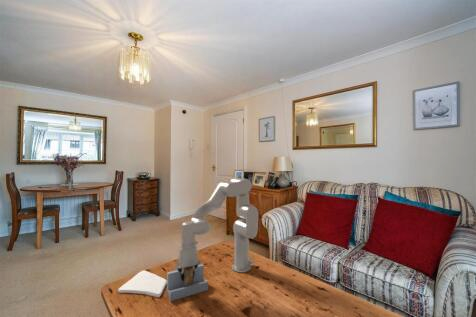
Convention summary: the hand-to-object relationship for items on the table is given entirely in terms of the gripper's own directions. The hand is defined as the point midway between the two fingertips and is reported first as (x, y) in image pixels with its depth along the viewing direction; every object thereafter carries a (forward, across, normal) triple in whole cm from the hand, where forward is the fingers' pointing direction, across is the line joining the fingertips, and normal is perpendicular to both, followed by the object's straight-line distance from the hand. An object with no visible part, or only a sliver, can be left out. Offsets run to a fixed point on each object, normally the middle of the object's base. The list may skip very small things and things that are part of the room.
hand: (187, 278), depth 113 cm
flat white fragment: (+8, +18, -16) cm, 25 cm away
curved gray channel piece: (+7, 0, 0) cm, 7 cm away
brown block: (+2, 0, 0) cm, 2 cm away
